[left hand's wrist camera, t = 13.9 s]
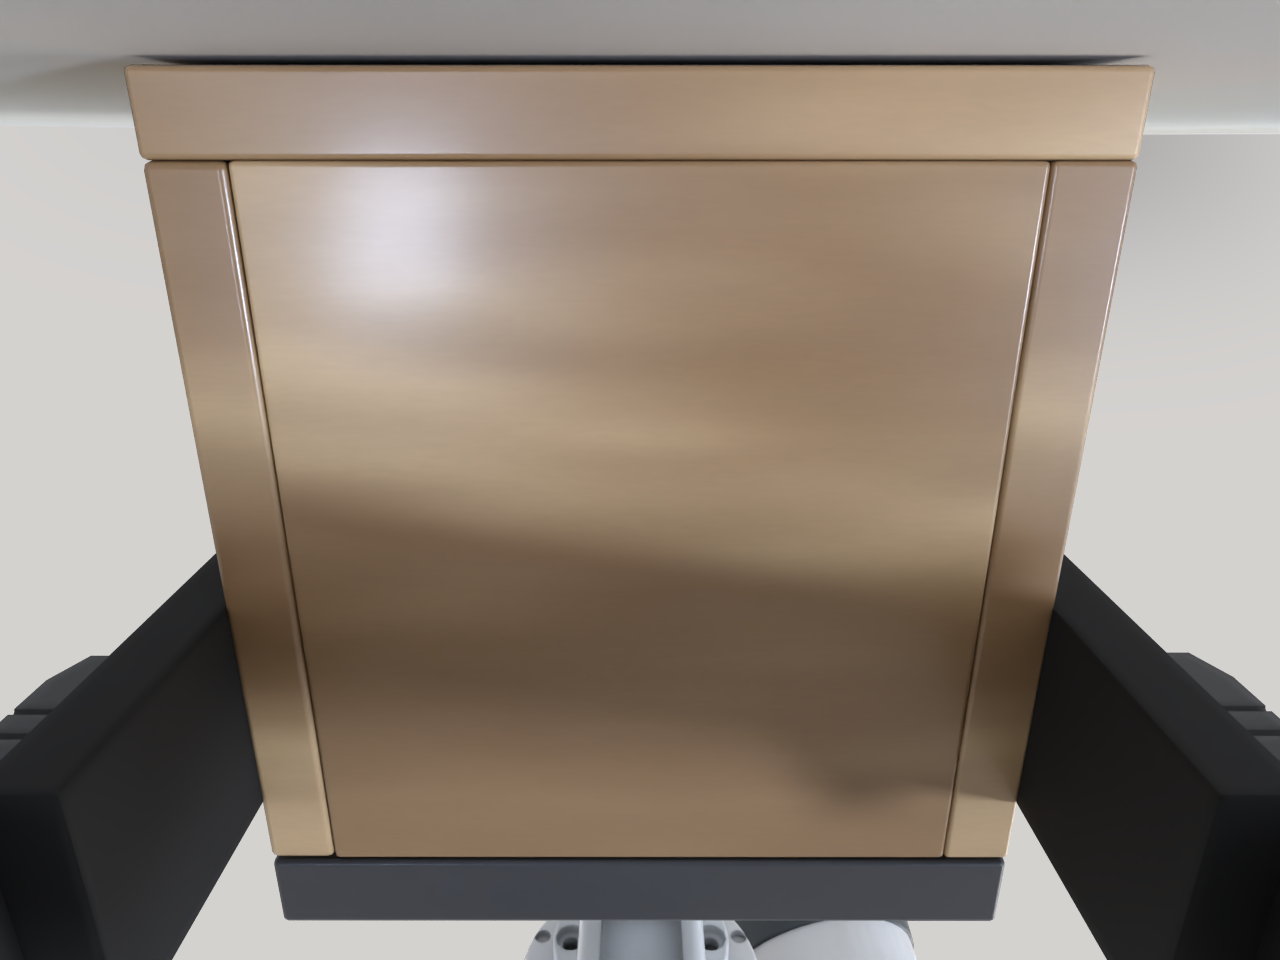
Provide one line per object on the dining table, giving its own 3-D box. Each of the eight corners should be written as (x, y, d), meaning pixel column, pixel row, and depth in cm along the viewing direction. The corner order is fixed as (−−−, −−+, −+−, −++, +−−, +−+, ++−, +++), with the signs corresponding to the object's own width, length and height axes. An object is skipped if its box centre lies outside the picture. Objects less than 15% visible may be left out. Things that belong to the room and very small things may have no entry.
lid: (791, 439, 27) (775, 677, 30) (488, 439, 27) (503, 676, 30) (1008, 862, 11) (928, 1277, 14) (271, 862, 11) (350, 1276, 14)
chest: (817, 118, 23) (795, 446, 26) (462, 118, 23) (484, 446, 26) (1159, 63, 8) (1008, 859, 11) (119, 64, 8) (270, 858, 11)
